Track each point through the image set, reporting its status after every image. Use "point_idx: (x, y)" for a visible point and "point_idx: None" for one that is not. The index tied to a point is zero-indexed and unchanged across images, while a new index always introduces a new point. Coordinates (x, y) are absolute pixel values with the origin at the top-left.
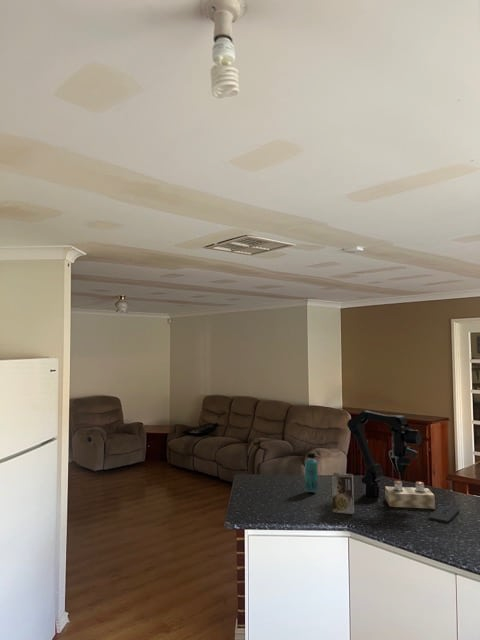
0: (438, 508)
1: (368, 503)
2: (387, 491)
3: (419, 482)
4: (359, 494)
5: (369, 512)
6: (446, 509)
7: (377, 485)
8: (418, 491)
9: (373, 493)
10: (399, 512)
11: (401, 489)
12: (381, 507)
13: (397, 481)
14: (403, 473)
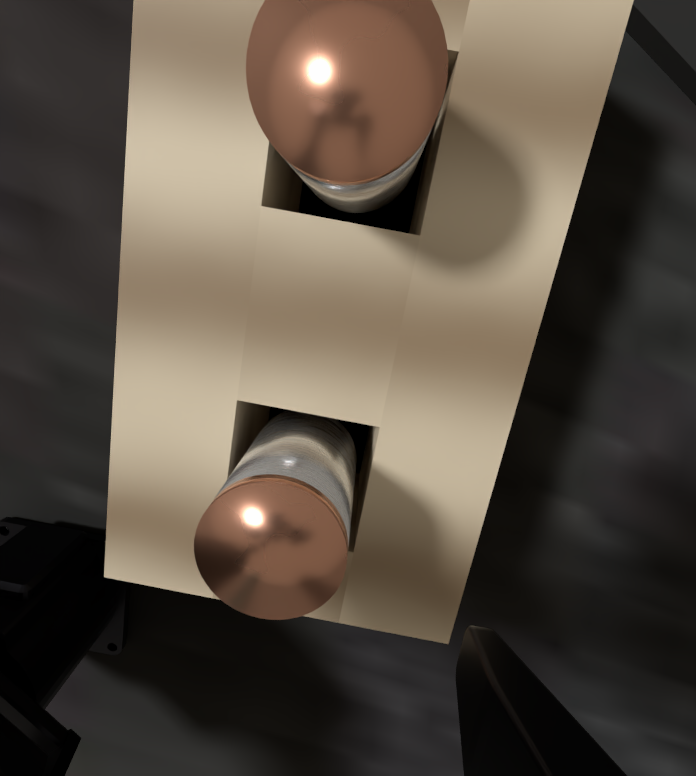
0: (662, 27)
1: (324, 685)
2: None
3: (338, 75)
4: None
5: None
6: None
7: (21, 623)
8: (404, 182)
9: (103, 608)
10: (616, 521)
11: (340, 457)
12: None
13: (254, 557)
14: (582, 753)
